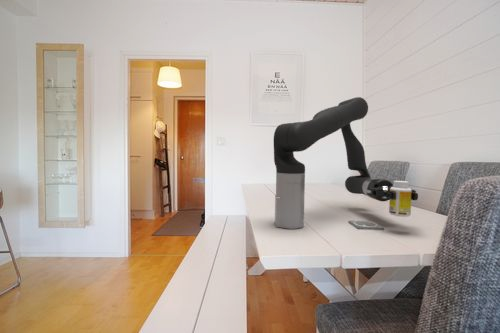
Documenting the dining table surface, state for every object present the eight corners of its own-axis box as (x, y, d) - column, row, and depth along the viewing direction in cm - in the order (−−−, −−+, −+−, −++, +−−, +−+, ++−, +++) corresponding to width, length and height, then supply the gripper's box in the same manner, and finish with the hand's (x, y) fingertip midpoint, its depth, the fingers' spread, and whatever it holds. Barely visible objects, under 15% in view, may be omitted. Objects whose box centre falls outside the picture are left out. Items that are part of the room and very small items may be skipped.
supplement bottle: (413, 215, 75) (415, 181, 75) (406, 218, 72) (408, 182, 71) (393, 212, 80) (394, 180, 79) (385, 214, 76) (387, 180, 76)
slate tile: (357, 229, 79) (357, 226, 79) (348, 222, 87) (348, 220, 87) (383, 229, 79) (383, 227, 79) (371, 222, 87) (371, 220, 87)
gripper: (357, 177, 90) (381, 182, 73) (398, 179, 89) (431, 184, 73) (356, 198, 90) (380, 208, 73) (397, 199, 90) (430, 210, 73)
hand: (405, 196), depth 73 cm, fingers closed on supplement bottle, 5 cm apart
